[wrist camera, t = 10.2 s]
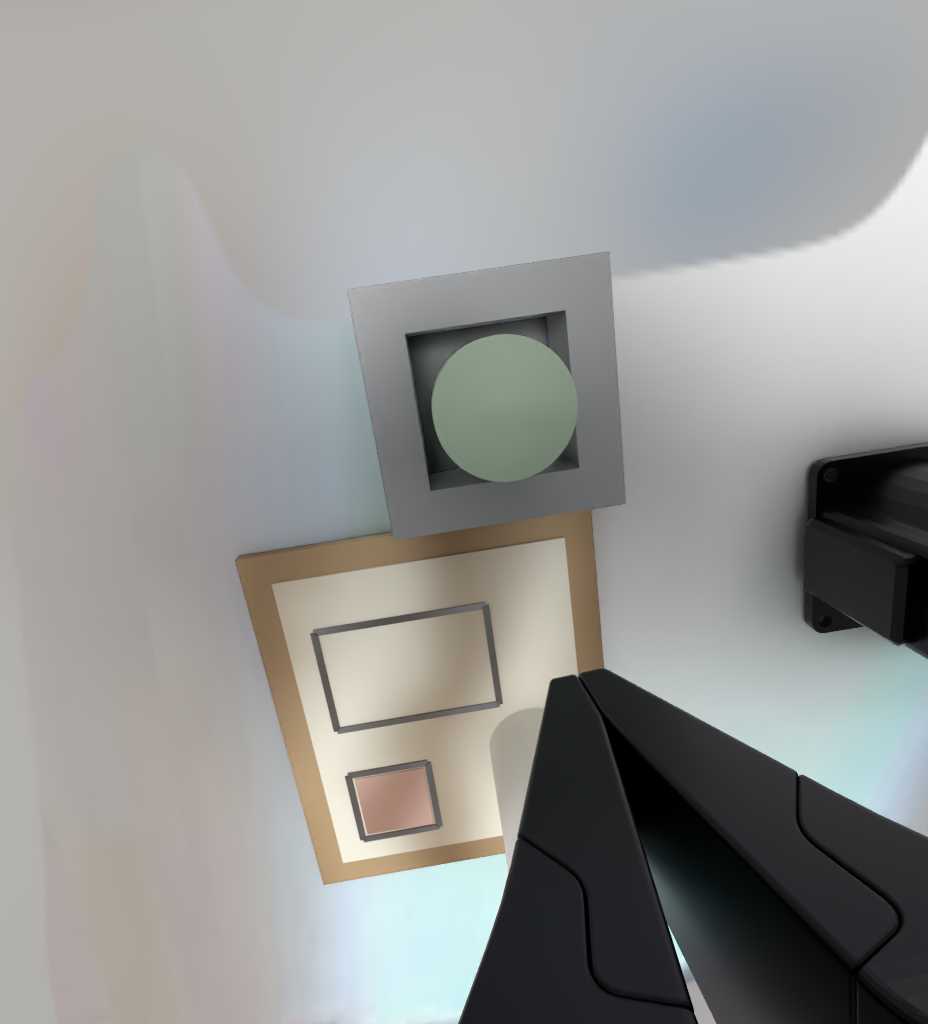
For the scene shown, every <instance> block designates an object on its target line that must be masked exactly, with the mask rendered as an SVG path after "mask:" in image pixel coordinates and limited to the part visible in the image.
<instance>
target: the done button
mask: <svg viewBox="0 0 928 1024" xmlns="http://www.w3.org/2000/svg"><path fill="white" fill-rule="evenodd" d="M431 408H432V416H433V422H434V426H435V431H436V434H437V436H438V439H439V441H440V443H441V445H442V447H443V449H444V450H445V452H446V453H447V454H448V456H449V457H450V458H451V459H452V460H453V461H454V462H455V463H456V464H457V465H458V466H459V467H461V468H462V469H463V470H465V471H466V472H468V473H470V474H472V475H474V476H476V477H478V478H482V479H485V480H489V481H495V482H511V481H517V480H522V479H525V478H528V477H531V476H533V475H535V474H537V473H539V472H541V471H542V470H544V469H545V468H547V467H548V466H549V465H550V464H552V463H553V462H554V461H555V460H556V459H557V458H558V457H559V455H560V454H561V453H562V452H563V450H564V449H565V447H566V446H567V444H568V442H569V440H570V438H571V436H572V434H573V431H574V428H575V424H576V420H577V411H578V399H577V393H576V388H575V385H574V381H573V379H572V376H571V374H570V372H569V370H568V369H567V367H566V365H565V364H564V362H563V361H562V360H561V359H560V358H559V356H558V355H557V354H556V353H554V352H553V351H552V350H551V349H550V348H548V347H547V346H546V345H544V344H542V343H540V342H539V341H537V340H534V339H532V338H529V337H526V336H521V335H516V334H499V335H493V336H488V337H484V338H481V339H477V340H474V341H472V342H469V343H467V344H465V345H463V346H462V347H460V348H459V349H457V350H456V351H455V352H454V353H453V354H451V355H450V356H449V357H448V359H447V360H446V361H445V362H444V363H443V365H442V367H441V368H440V370H439V372H438V374H437V376H436V378H435V381H434V385H433V389H432V395H431Z"/></svg>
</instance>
